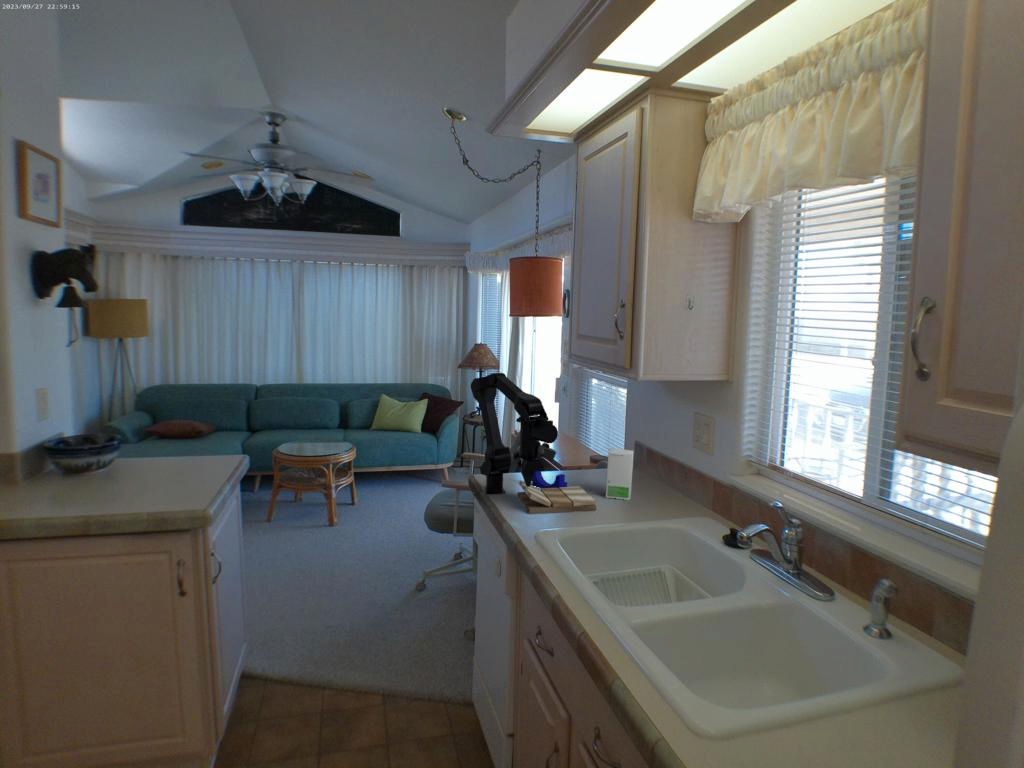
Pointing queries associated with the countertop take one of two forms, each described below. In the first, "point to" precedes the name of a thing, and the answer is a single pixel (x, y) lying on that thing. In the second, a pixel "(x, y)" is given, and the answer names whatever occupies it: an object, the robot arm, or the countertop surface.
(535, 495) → the plank near
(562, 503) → the mating strip
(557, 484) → the cable clip
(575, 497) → the plank far
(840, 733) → the countertop surface
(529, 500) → the board
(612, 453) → the skincare box
